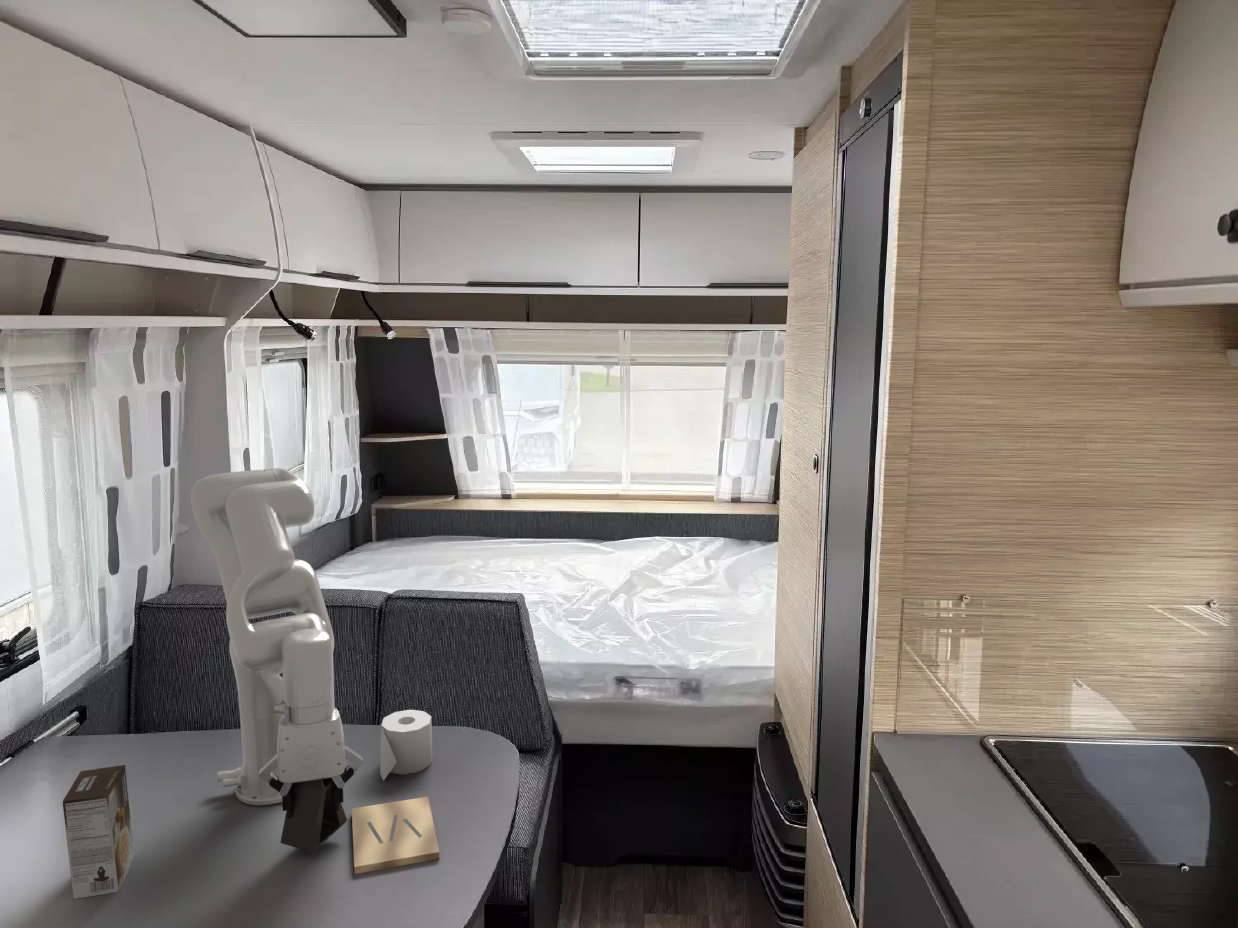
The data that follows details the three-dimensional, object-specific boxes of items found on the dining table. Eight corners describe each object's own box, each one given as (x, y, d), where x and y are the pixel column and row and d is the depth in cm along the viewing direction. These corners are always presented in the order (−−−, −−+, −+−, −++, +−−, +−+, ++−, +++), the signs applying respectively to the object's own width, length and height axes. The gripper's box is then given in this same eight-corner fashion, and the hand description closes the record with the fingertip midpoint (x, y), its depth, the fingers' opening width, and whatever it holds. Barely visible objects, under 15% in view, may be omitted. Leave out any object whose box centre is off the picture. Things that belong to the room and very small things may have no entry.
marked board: (354, 873, 135) (354, 866, 135) (352, 814, 151) (351, 808, 151) (439, 858, 139) (439, 851, 139) (428, 802, 155) (428, 796, 155)
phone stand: (311, 853, 137) (308, 783, 134) (280, 844, 139) (277, 775, 136) (347, 821, 145) (345, 755, 143) (317, 813, 147) (314, 748, 145)
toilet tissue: (376, 786, 160) (374, 742, 159) (388, 750, 173) (386, 710, 172) (425, 784, 161) (424, 740, 160) (434, 749, 174) (433, 708, 173)
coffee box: (89, 863, 137) (80, 768, 134) (135, 856, 139) (126, 763, 136) (71, 900, 128) (61, 800, 126) (120, 892, 130) (110, 793, 128)
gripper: (248, 725, 131) (254, 832, 135) (367, 712, 137) (370, 814, 140) (252, 703, 138) (257, 804, 142) (365, 691, 144) (368, 789, 147)
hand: (313, 808), depth 141 cm, fingers closed on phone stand, 6 cm apart
